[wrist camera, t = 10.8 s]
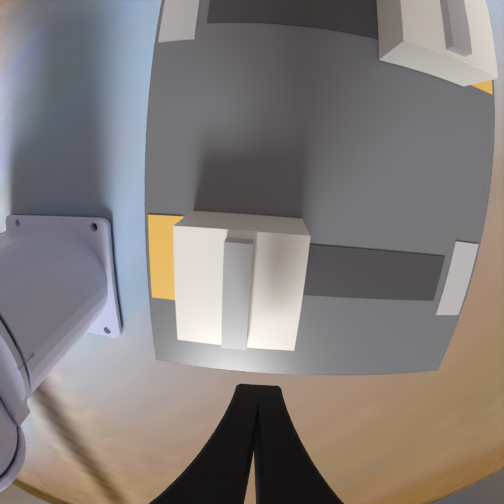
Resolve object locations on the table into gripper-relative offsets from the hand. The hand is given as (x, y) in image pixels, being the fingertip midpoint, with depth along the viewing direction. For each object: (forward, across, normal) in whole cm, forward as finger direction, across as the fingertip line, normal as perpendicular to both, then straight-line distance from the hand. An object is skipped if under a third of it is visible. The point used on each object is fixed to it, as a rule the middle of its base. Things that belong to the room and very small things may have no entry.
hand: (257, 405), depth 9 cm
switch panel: (+8, -3, -9) cm, 13 cm away
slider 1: (+6, +1, -3) cm, 7 cm away
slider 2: (+6, -7, -15) cm, 18 cm away
